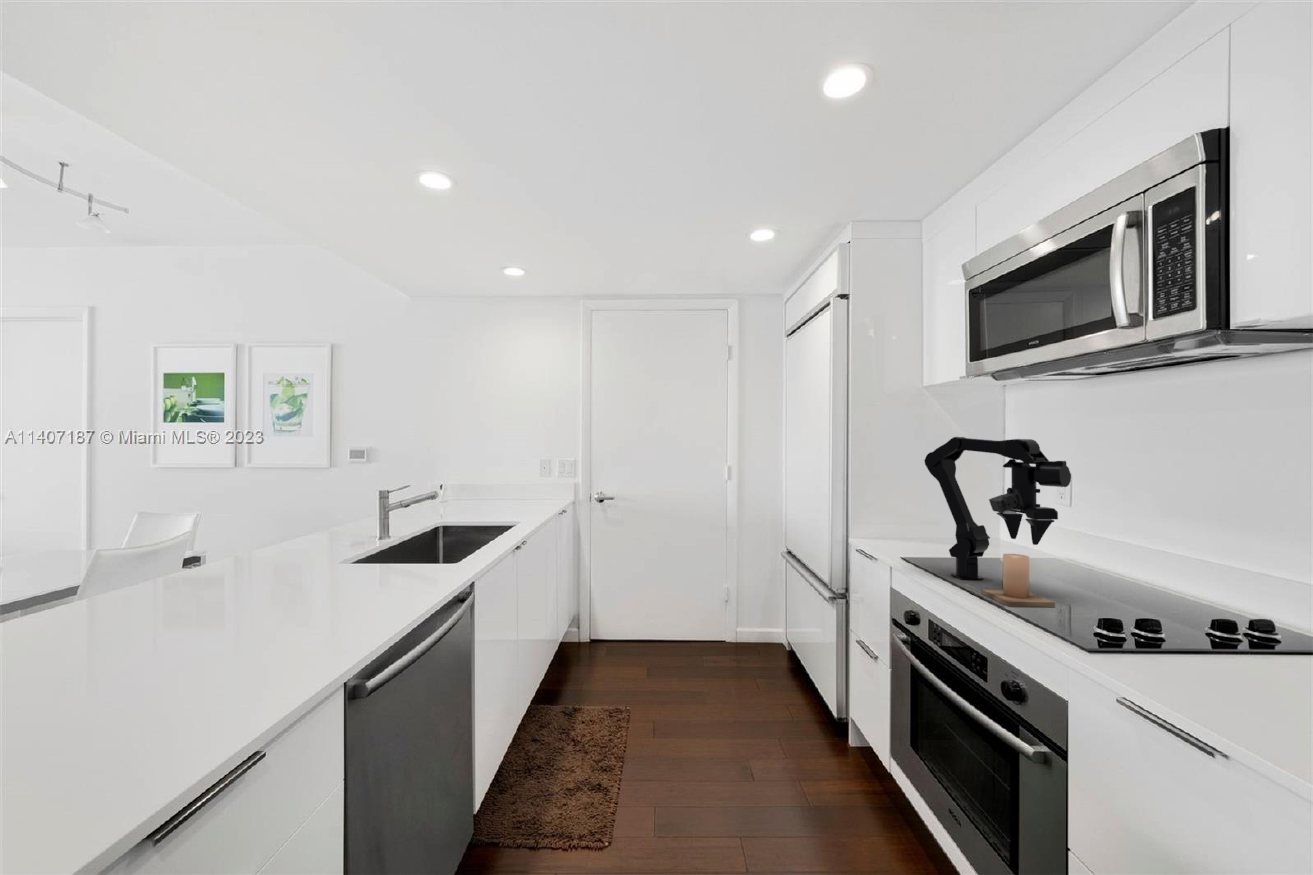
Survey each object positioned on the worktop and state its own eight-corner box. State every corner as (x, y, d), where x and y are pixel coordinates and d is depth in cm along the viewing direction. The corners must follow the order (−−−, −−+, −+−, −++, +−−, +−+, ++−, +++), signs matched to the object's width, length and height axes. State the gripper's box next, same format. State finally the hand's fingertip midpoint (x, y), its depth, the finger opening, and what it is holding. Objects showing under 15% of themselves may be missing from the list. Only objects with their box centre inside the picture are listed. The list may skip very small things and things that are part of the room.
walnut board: (981, 593, 147) (981, 589, 147) (1022, 594, 147) (1022, 589, 147) (1009, 606, 135) (1009, 601, 135) (1054, 607, 135) (1054, 602, 135)
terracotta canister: (1001, 591, 145) (1000, 553, 145) (1026, 593, 143) (1026, 554, 143) (1005, 596, 140) (1005, 556, 140) (1032, 599, 138) (1031, 558, 138)
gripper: (975, 482, 162) (975, 535, 162) (1015, 487, 143) (1015, 547, 143) (1013, 482, 162) (1013, 536, 162) (1059, 487, 143) (1059, 548, 143)
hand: (1024, 541), depth 152 cm, fingers open, 9 cm apart
